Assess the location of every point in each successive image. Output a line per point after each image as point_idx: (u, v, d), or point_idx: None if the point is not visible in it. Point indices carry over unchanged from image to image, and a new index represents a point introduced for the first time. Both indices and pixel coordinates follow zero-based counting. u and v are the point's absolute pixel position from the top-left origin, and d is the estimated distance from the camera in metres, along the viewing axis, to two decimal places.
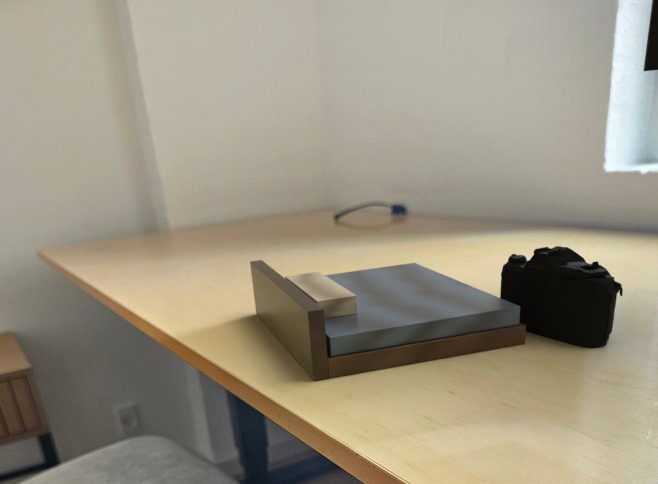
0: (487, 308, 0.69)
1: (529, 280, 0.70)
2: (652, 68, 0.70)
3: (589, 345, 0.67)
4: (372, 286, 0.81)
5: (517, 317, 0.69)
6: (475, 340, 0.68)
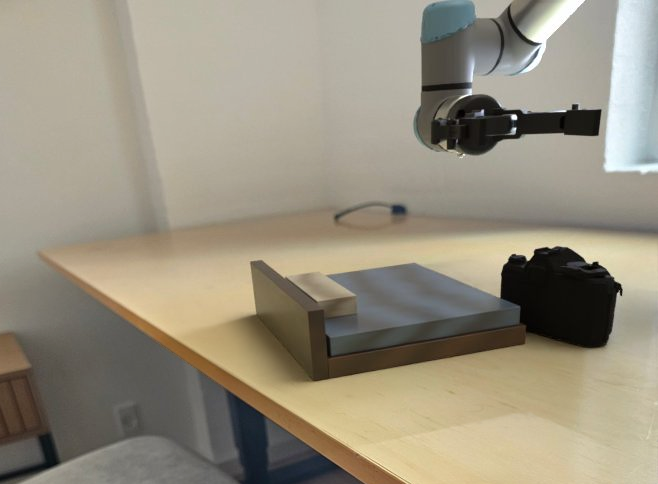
0: (487, 308, 0.69)
1: (529, 280, 0.70)
2: (592, 129, 0.75)
3: (589, 345, 0.67)
4: (372, 286, 0.81)
5: (517, 317, 0.69)
6: (475, 340, 0.68)
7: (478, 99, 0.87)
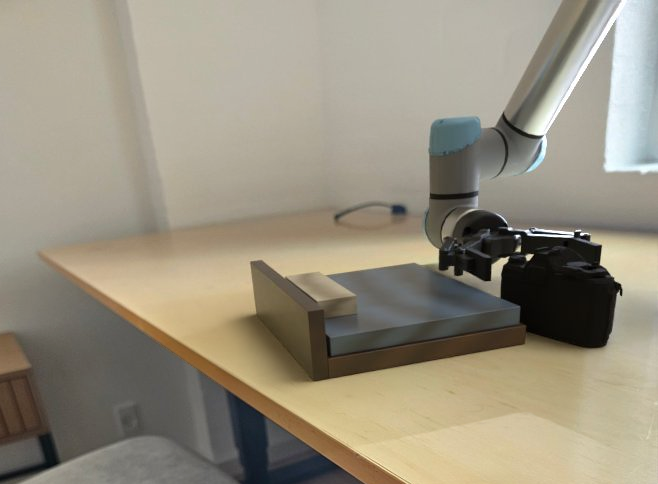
0: (487, 308, 0.69)
1: (529, 280, 0.70)
2: None
3: (589, 345, 0.67)
4: (372, 286, 0.81)
5: (517, 317, 0.69)
6: (475, 340, 0.68)
7: (484, 217, 0.91)
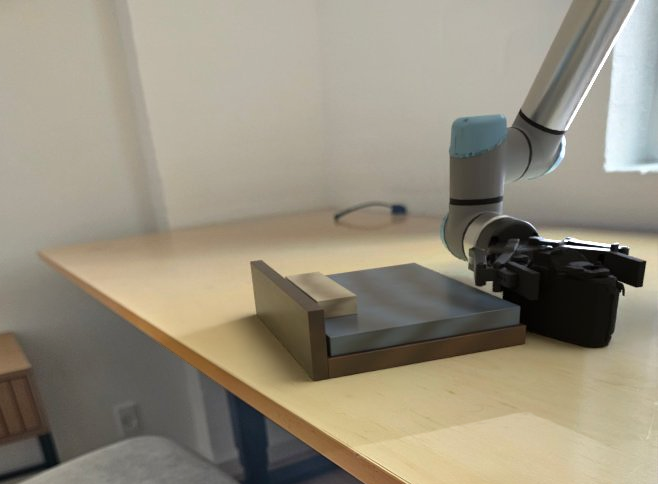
0: (487, 308, 0.69)
1: None
2: (636, 280, 0.69)
3: (591, 345, 0.67)
4: (372, 286, 0.81)
5: (517, 317, 0.69)
6: (475, 340, 0.68)
7: (512, 225, 0.82)
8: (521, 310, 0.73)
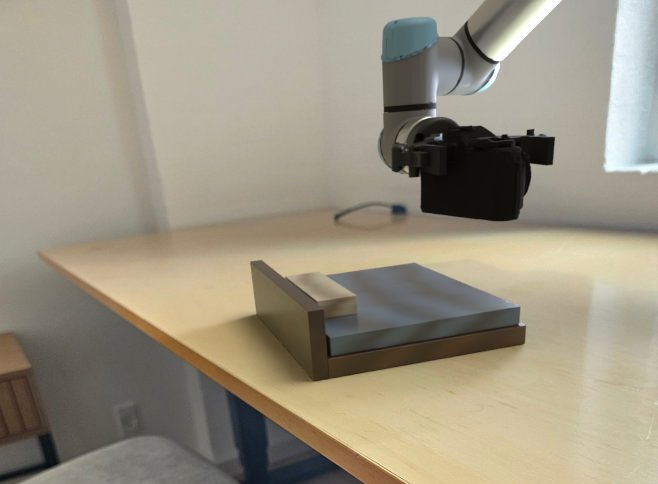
0: (487, 308, 0.69)
1: None
2: (545, 158, 0.69)
3: (499, 219, 0.67)
4: (372, 286, 0.81)
5: (517, 317, 0.69)
6: (475, 340, 0.68)
7: (437, 122, 0.82)
8: (437, 195, 0.73)
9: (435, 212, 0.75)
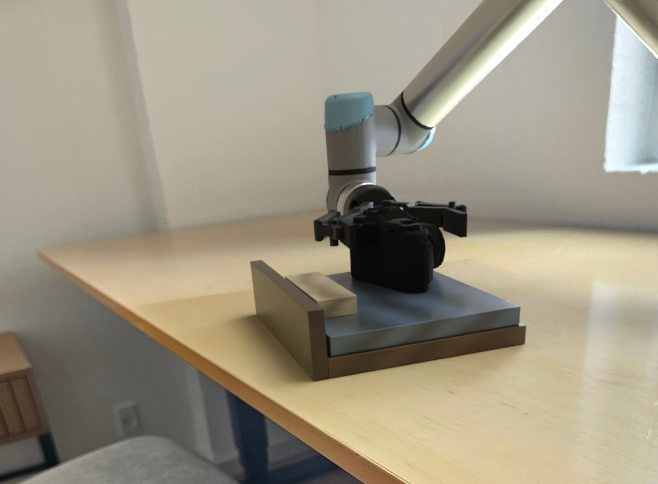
0: (487, 308, 0.69)
1: (365, 236, 0.80)
2: (460, 231, 0.79)
3: (411, 291, 0.76)
4: (372, 286, 0.81)
5: (517, 317, 0.69)
6: (475, 340, 0.68)
7: (369, 190, 0.91)
8: (362, 264, 0.83)
9: (362, 279, 0.84)
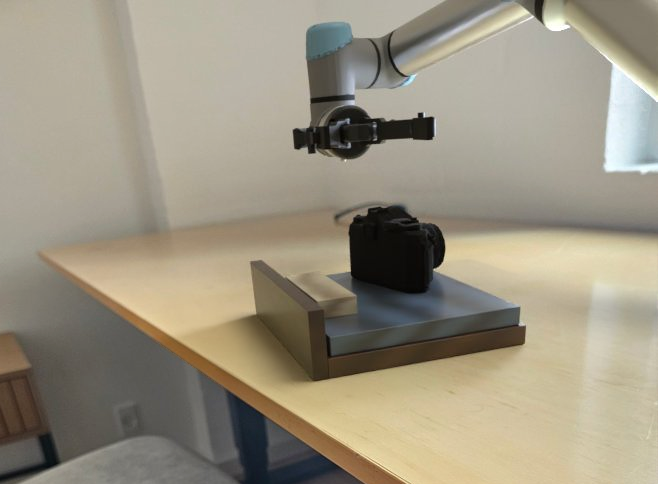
0: (487, 308, 0.69)
1: (365, 236, 0.80)
2: (426, 134, 0.85)
3: (411, 291, 0.76)
4: (372, 286, 0.81)
5: (517, 317, 0.69)
6: (475, 340, 0.68)
7: (346, 109, 0.98)
8: (362, 264, 0.83)
9: (362, 279, 0.84)
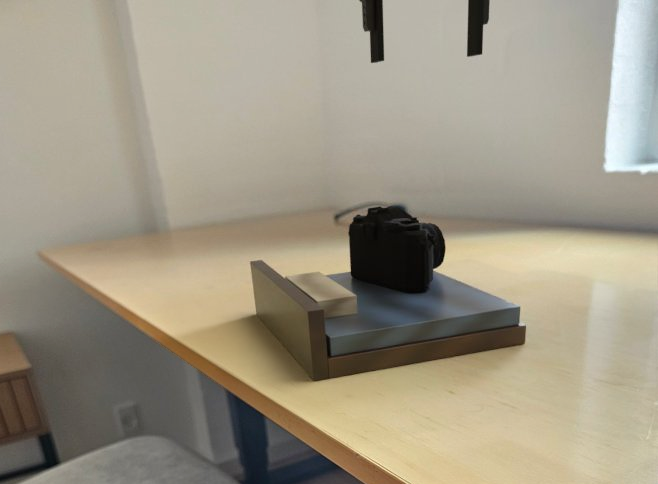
0: (487, 308, 0.69)
1: (365, 236, 0.80)
2: (469, 54, 0.86)
3: (410, 291, 0.76)
4: (372, 286, 0.81)
5: (517, 317, 0.69)
6: (475, 340, 0.68)
7: None
8: (362, 264, 0.83)
9: (362, 279, 0.84)
